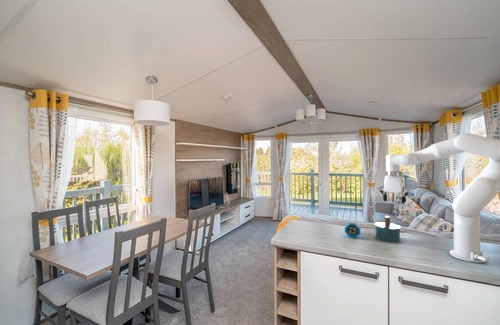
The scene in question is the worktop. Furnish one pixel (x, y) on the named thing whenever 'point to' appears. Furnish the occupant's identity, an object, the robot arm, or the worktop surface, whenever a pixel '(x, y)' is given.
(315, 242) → the worktop surface
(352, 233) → the toy flower
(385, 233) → the tin
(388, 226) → the tin lid
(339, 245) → the worktop surface
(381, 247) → the worktop surface
